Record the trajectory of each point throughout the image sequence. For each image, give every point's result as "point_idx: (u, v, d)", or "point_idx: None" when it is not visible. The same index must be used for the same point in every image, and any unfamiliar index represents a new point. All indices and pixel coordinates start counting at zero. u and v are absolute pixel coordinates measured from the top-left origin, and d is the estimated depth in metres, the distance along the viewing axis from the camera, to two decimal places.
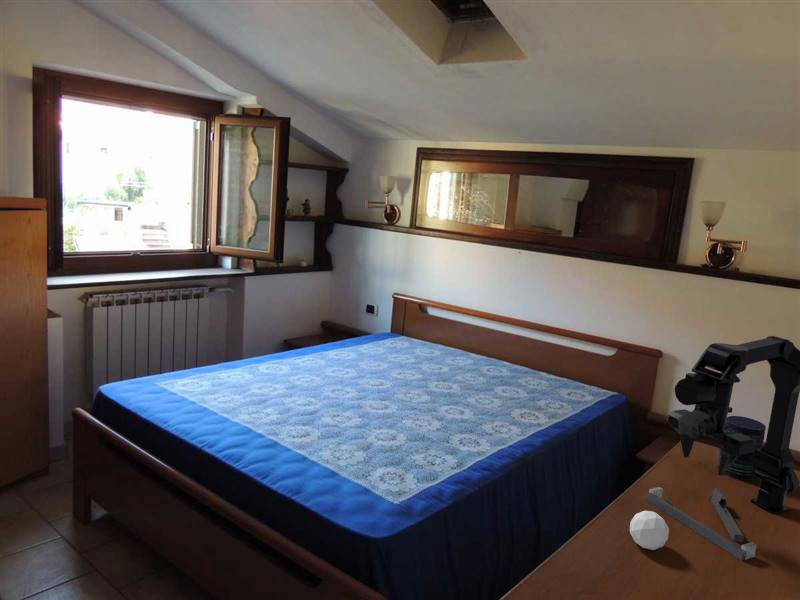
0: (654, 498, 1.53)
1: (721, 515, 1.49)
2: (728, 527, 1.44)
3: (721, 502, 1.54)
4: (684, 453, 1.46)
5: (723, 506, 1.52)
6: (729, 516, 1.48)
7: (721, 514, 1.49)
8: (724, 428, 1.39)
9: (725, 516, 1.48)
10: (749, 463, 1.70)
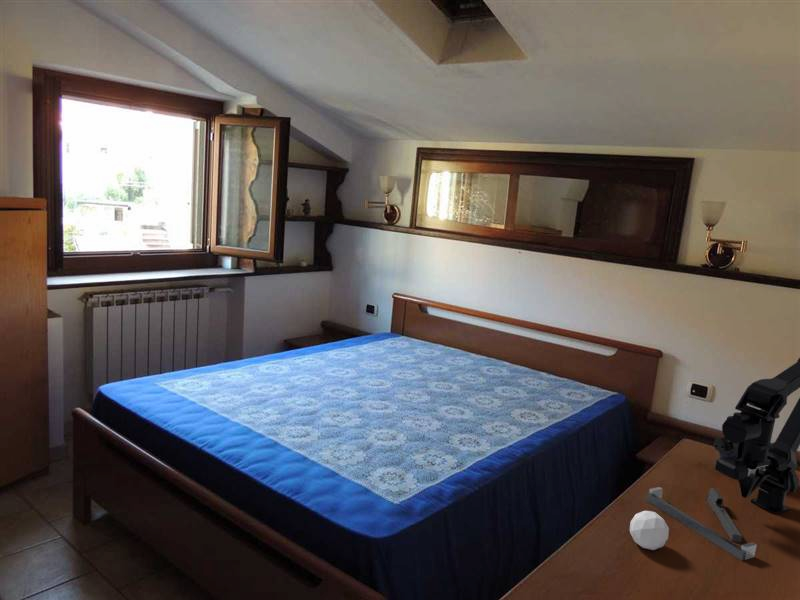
0: (654, 498, 1.53)
1: (718, 515, 1.49)
2: (726, 527, 1.44)
3: (718, 501, 1.54)
4: None
5: (720, 505, 1.52)
6: (726, 516, 1.48)
7: (718, 514, 1.50)
8: (749, 461, 1.47)
9: (722, 516, 1.48)
10: None
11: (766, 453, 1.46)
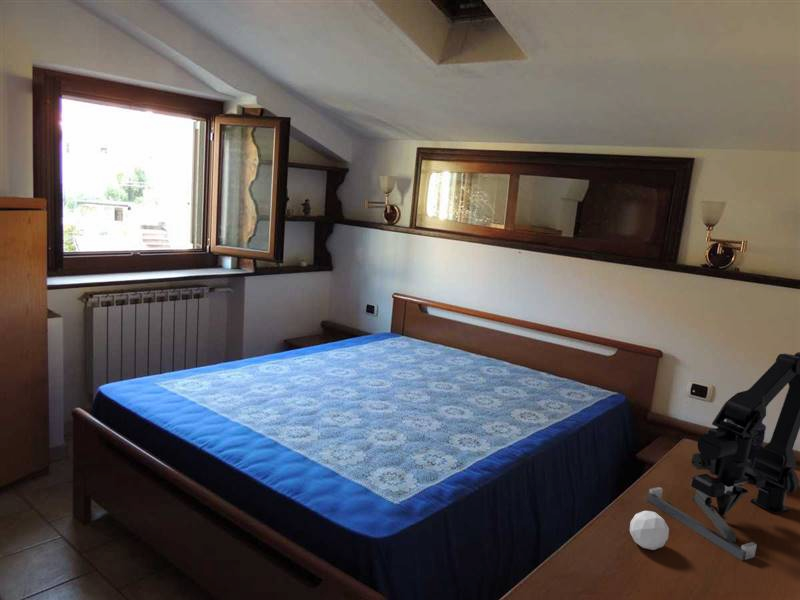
0: (654, 498, 1.53)
1: (709, 514, 1.49)
2: (719, 527, 1.44)
3: (706, 500, 1.54)
4: None
5: (709, 505, 1.52)
6: (717, 515, 1.48)
7: (709, 513, 1.49)
8: (726, 478, 1.44)
9: (713, 515, 1.48)
10: None
11: (743, 470, 1.44)
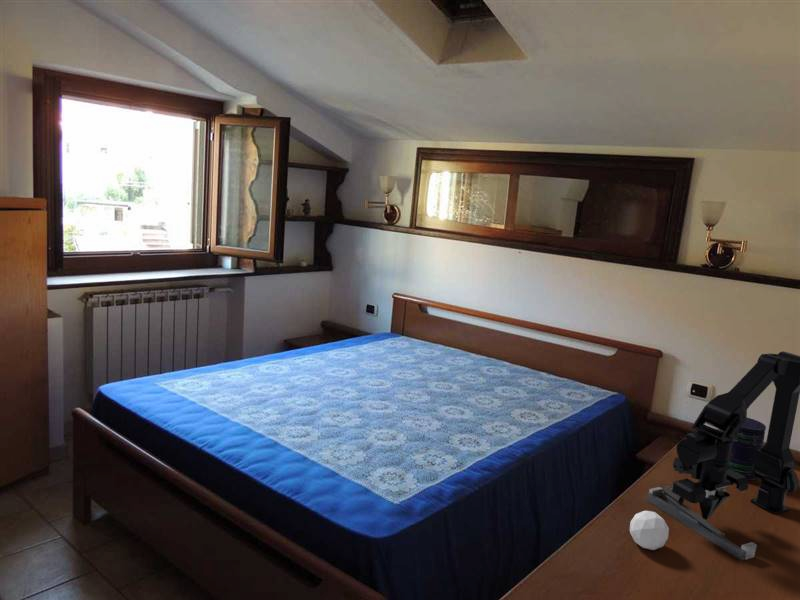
0: (654, 498, 1.53)
1: (686, 514, 1.48)
2: None
3: None
4: None
5: (681, 504, 1.51)
6: (695, 514, 1.47)
7: (686, 513, 1.48)
8: (708, 483, 1.42)
9: (692, 515, 1.46)
10: (749, 463, 1.70)
11: (725, 474, 1.41)
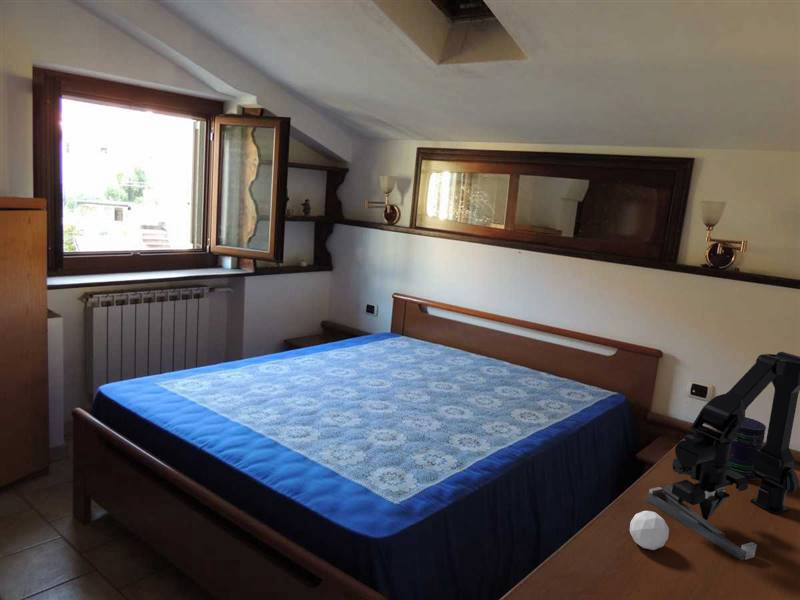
0: (654, 498, 1.53)
1: (686, 514, 1.48)
2: None
3: None
4: None
5: (681, 503, 1.51)
6: (695, 513, 1.47)
7: (686, 513, 1.48)
8: (707, 484, 1.42)
9: (692, 514, 1.47)
10: (750, 463, 1.70)
11: (724, 475, 1.41)
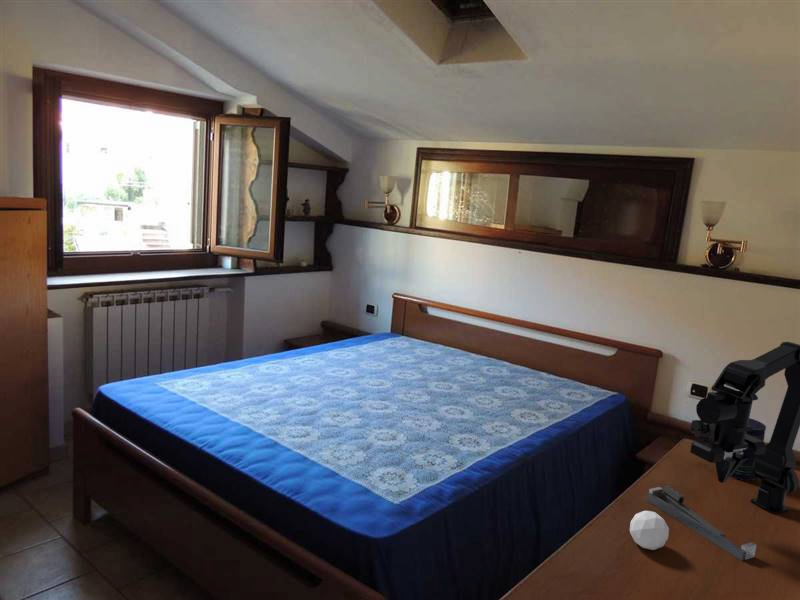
0: (654, 498, 1.53)
1: (686, 514, 1.48)
2: None
3: None
4: None
5: (681, 504, 1.52)
6: (695, 514, 1.47)
7: (686, 513, 1.48)
8: (726, 444, 1.41)
9: (692, 515, 1.47)
10: (750, 463, 1.70)
11: (743, 436, 1.41)
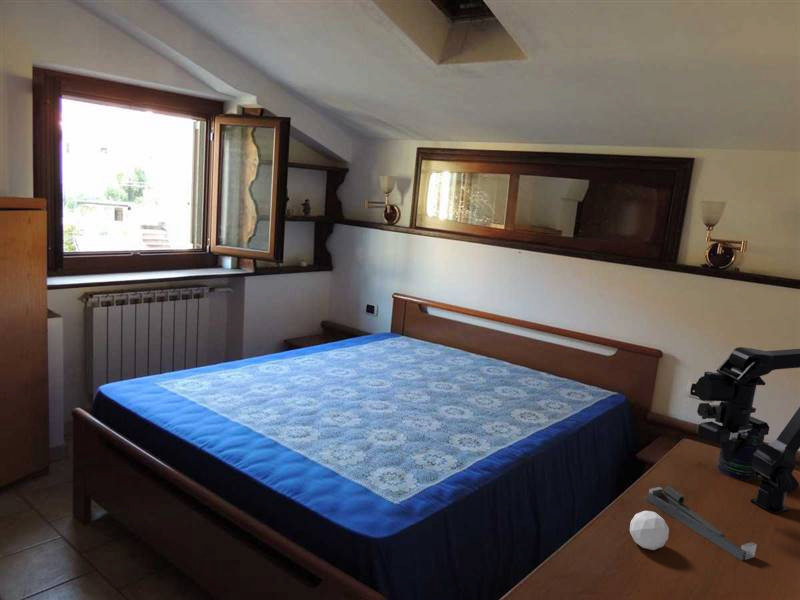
0: (654, 498, 1.53)
1: (686, 514, 1.48)
2: None
3: None
4: None
5: (681, 504, 1.52)
6: (695, 514, 1.47)
7: (686, 513, 1.48)
8: (731, 425, 1.49)
9: (692, 515, 1.47)
10: (750, 463, 1.70)
11: (748, 417, 1.48)
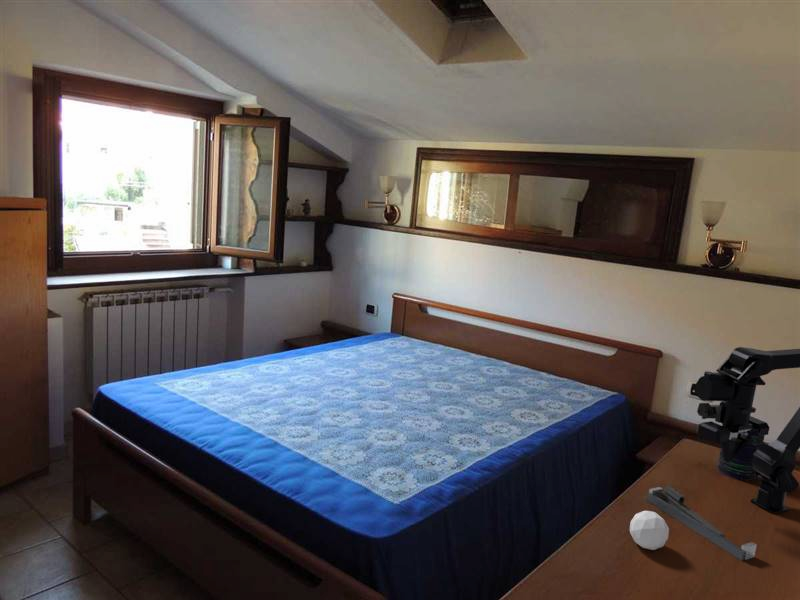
0: (654, 498, 1.53)
1: (686, 514, 1.48)
2: None
3: None
4: None
5: (682, 504, 1.52)
6: (695, 514, 1.47)
7: (686, 513, 1.48)
8: (731, 425, 1.49)
9: (692, 515, 1.47)
10: (749, 463, 1.70)
11: (748, 417, 1.48)
